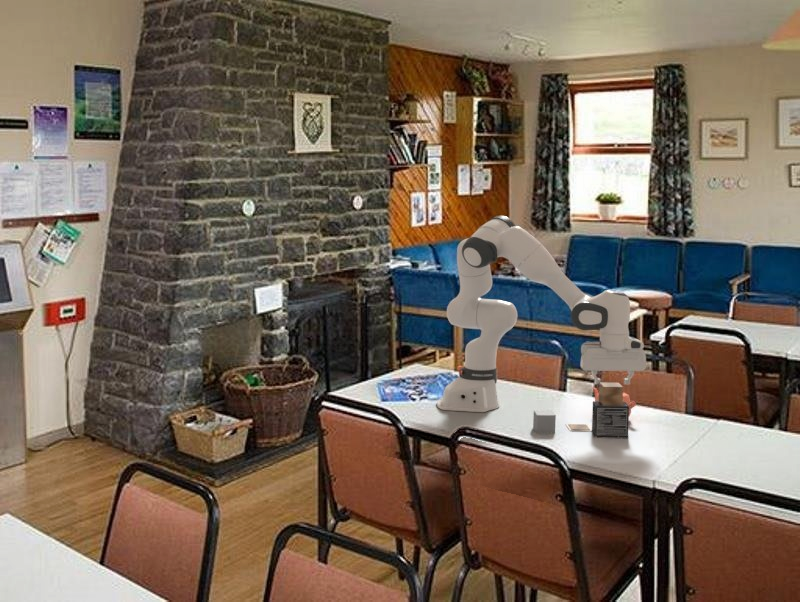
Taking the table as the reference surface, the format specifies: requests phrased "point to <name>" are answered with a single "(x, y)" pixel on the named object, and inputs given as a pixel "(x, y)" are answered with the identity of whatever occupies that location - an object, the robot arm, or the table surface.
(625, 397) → the teapot
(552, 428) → the slate cube
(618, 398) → the walnut cube
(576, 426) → the swatch
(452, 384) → the robot arm
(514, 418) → the table surface
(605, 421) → the small box
